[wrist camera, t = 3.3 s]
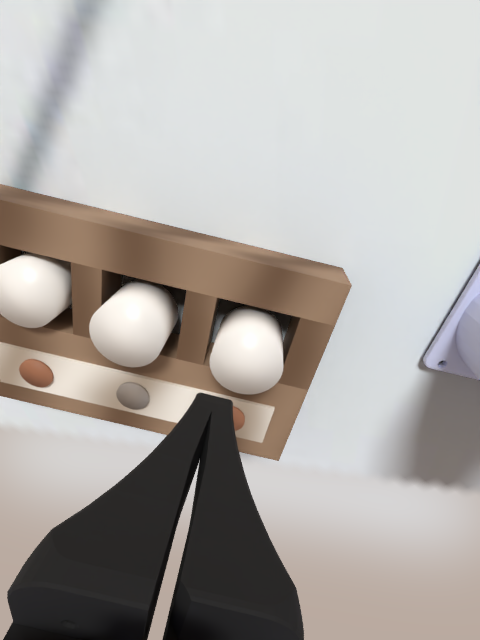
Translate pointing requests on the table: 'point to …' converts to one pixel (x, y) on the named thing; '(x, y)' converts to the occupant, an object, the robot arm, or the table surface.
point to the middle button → (134, 323)
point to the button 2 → (248, 351)
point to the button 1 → (34, 289)
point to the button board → (179, 350)
